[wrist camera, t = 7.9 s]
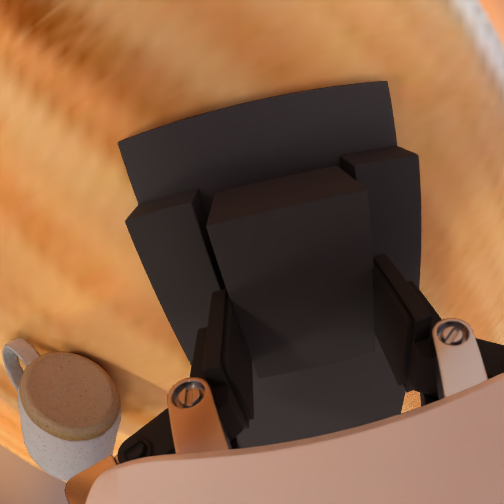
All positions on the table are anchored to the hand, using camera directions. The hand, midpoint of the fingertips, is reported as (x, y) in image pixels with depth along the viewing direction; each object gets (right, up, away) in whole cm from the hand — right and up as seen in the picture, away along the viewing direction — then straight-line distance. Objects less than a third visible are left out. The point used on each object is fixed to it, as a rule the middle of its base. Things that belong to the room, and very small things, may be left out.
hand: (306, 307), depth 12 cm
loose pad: (0, +2, +2) cm, 3 cm away
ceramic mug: (-16, -7, +9) cm, 20 cm away
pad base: (+1, -1, +6) cm, 6 cm away
